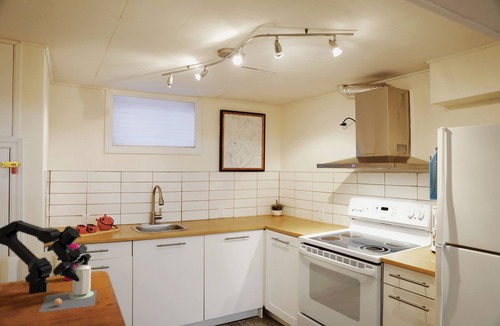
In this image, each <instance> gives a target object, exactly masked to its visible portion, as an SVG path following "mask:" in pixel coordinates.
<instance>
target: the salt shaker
mask: <svg viewBox="0 0 500 326" xmlns="http://www.w3.org/2000/svg"><path fill="white" fill-rule="evenodd" d="M73 270H74V272H75V273H76V275H77V276H78V278H79V281H78V282H77V281H74V280H72V281H71V282H72V285H71V287H72V288H71V292H72V293H73V294H75V295H82V294H86V293H89V292H90V290H91V286H92V285H91V283H92V266H91V265H89V264H88V265H79V266H76V267H74V269H73Z"/></svg>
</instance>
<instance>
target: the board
mask: <svg viewBox="0 0 500 326" xmlns="http://www.w3.org/2000/svg"><path fill="white" fill-rule="evenodd" d="M97 291H98V290H97V289H92V290H91V289H90V292H89V293H86V294H82V295H75V294H73V293H72V291H71V292H63V293H56V294H47V295H46V297H45V299H44V301H43V303H42V304H41V307H40V308H39V310H38V312H37V313H46V312H54V311H55V312H56V311H62V310H70V309H78V308H79V309H80V308H84V307H86V308H87V307H93V306H94V307H95V304H96V298H97ZM58 298H59V299H61V300H62V303H61V305H60V306H55V305H54V300H55V299H58Z"/></svg>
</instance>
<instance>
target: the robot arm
mask: <svg viewBox="0 0 500 326" xmlns="http://www.w3.org/2000/svg"><path fill="white" fill-rule="evenodd" d="M19 232H20V233H22V234H25V235H29V236H32V237H35V238H37V240H38V241H39V242H41V243H43V244H45V245H46V244H48V245H47V250H46V252H51V251H52V252H53V253H54V254H55V255H56V257H57V258H56V260H57V261H58V262H59V261H61V262H59V263H58V264H57V266H55V267H54V268H53V265H52V262H51V261H49V260H48V259H47V258H46V257H45V256H44V257H38V256H36V255H35V254H34V253H33V251H31V250H30V249H29V248H28V247H27V246H26V245H25V244H24V243H23V242H22V241H21V240H20V239H19V238H18V233H19ZM79 237H80V231H79V230H78V229H76V228H74V227H72V226H71V225H67V226H66V227H64V230H63V231H60V230H59V229H57V228H52V227H51V228H50V227H41V226H38V225H36V224H32V223H28V222H25V221H23V220H21V219H20V220H14V221H11V222H9V223H8V224H5V225H4V226H2V227H0V245H3V246H6V247H7V248H9V250H10V251H12V252H13V253H14V255H15V256H17V257H18V258H19V259H20V260H21V261H22V262H23V263H24V264H25V265H26V266H27V269H28V270H27V271H28V274H27V275H26V276H25V277H24V280H25V283H28V295H33V294H41V293H43V294H44V293H47V292H48V284H49V283H48V281H47V279H48V278H50V276H51V273H52V272H53V275H54V276H55V277H57V276H59V277H64V278H65V277H67V278H69V279H72V280H74V281H77V282H78V281H79V278H78V276H77V275H76V273H75V272H74V270H73V266H74V265H77V266H79V265H89V261H90V259H91V258H92V255H91V254H90V253H87V251H88V247H87V245H86V244H81V245H78V248H77V249H73V248H72V249H70V248H69V247H68V246H67V245H71V244H72V243H73V242H74V243H75V241H76V240H77V239H78V238H79ZM49 243H51V244H49Z"/></svg>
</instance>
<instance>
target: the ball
mask: <svg viewBox="0 0 500 326" xmlns="http://www.w3.org/2000/svg"><path fill="white" fill-rule="evenodd" d="M61 303H62V300H61V299H59V298H58V299H55V300H54V305H55V306H60V305H61Z"/></svg>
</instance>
